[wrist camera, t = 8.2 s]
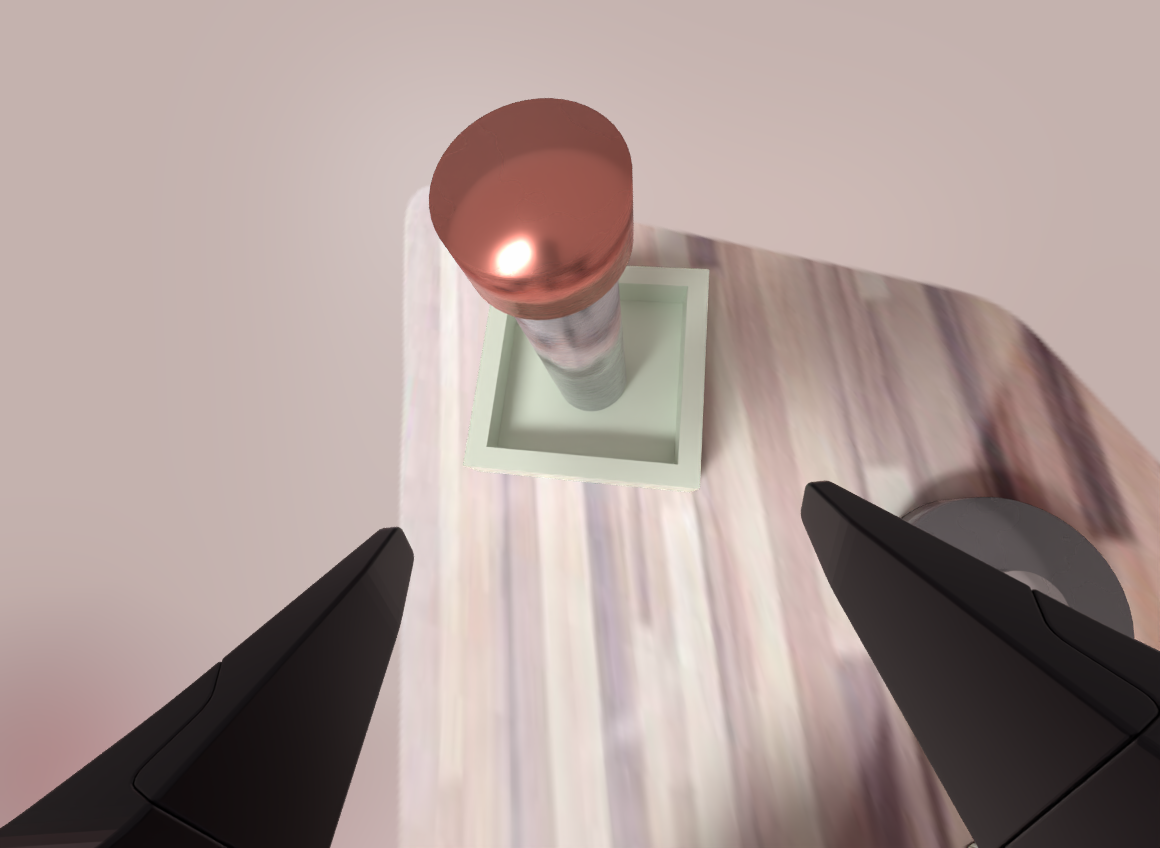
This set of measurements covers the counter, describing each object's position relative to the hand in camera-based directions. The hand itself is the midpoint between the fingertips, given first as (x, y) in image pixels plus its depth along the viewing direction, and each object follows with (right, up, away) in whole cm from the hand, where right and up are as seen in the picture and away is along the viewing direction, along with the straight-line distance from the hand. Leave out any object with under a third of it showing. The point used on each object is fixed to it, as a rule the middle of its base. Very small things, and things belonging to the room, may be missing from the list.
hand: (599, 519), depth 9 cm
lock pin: (0, +4, +12) cm, 13 cm away
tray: (0, +4, +13) cm, 14 cm away
